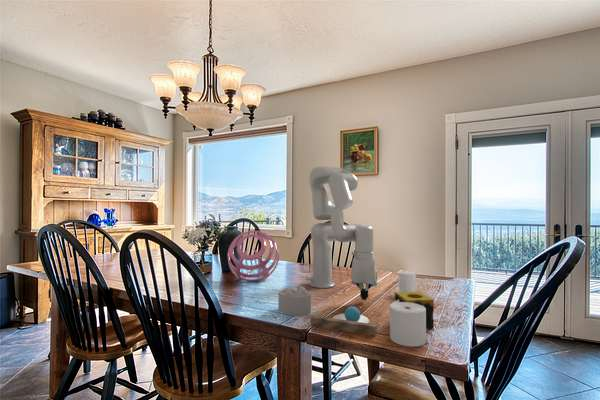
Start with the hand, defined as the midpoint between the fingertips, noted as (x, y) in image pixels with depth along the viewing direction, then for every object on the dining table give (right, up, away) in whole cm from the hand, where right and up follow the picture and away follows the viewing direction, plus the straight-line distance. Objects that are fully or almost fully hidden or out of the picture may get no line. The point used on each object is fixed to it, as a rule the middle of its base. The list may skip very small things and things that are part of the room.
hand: (364, 299), depth 138 cm
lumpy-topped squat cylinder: (-29, -2, -10) cm, 30 cm away
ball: (-9, +1, -23) cm, 24 cm away
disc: (-9, -2, -20) cm, 22 cm away
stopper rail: (-13, -1, -29) cm, 32 cm away
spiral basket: (-53, -2, +41) cm, 67 cm away
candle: (+12, -2, -24) cm, 27 cm away
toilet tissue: (+6, -2, -36) cm, 37 cm away
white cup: (+22, -2, +12) cm, 25 cm away
